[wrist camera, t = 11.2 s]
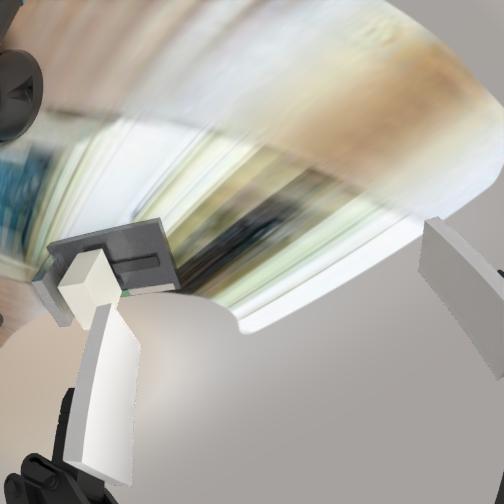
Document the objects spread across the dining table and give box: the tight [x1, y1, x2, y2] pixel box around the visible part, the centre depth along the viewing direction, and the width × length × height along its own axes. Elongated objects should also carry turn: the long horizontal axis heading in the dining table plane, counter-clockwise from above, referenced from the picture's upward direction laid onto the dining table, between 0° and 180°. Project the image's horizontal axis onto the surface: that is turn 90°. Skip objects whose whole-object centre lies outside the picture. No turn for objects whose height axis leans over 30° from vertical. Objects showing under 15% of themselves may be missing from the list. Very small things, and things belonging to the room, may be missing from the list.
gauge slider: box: [58, 249, 122, 330], centre depth 44 cm, size 5×11×9 cm, turn 8°
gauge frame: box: [31, 218, 182, 327], centre depth 45 cm, size 22×13×10 cm, turn 98°
